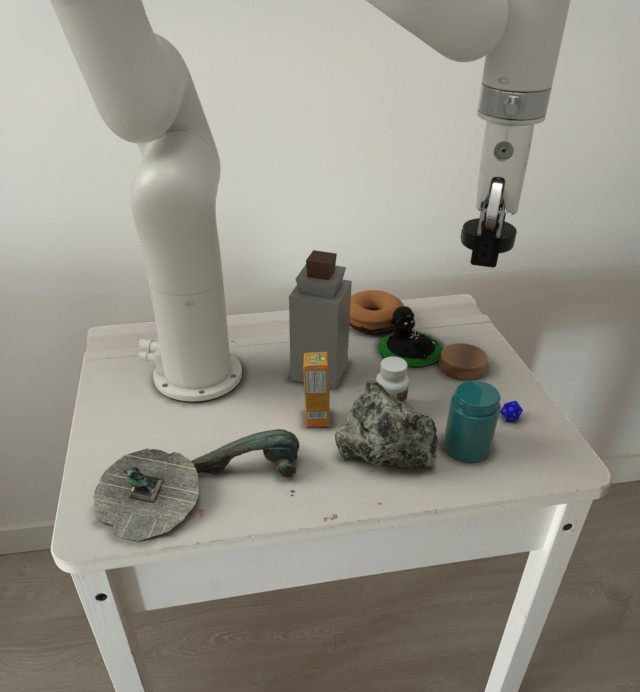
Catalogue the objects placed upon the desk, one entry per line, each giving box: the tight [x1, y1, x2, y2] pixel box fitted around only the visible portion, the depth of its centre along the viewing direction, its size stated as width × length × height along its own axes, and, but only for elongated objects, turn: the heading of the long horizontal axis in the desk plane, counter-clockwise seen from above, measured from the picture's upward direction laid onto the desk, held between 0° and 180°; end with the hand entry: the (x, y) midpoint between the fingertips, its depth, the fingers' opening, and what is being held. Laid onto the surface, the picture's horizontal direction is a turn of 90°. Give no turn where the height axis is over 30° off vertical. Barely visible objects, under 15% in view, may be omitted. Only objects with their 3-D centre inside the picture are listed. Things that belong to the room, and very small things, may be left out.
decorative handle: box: [190, 428, 300, 479], centre depth 79 cm, size 15×7×5 cm, turn 105°
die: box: [500, 400, 524, 423], centre depth 88 cm, size 3×3×3 cm
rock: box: [334, 379, 439, 469], centre depth 80 cm, size 12×8×10 cm
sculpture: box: [93, 448, 200, 542], centre depth 75 cm, size 12×9×8 cm
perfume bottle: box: [288, 249, 353, 389], centre depth 91 cm, size 7×7×18 cm
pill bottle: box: [375, 357, 410, 405], centre depth 87 cm, size 4×4×8 cm
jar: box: [442, 379, 502, 463], centre depth 81 cm, size 6×6×9 cm
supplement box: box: [303, 352, 331, 428], centre depth 85 cm, size 3×4×10 cm
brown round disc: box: [438, 342, 488, 381], centre depth 97 cm, size 7×7×2 cm
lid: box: [460, 217, 518, 254], centre depth 83 cm, size 7×7×2 cm
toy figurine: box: [377, 305, 444, 367], centre depth 100 cm, size 10×10×6 cm
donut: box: [349, 289, 405, 334], centre depth 106 cm, size 10×10×4 cm
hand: (485, 251), depth 85 cm, fingers closed on lid, 6 cm apart
